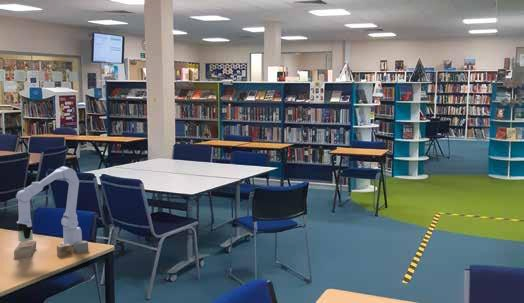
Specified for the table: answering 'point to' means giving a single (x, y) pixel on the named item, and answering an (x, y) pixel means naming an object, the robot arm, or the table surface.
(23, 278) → the table surface
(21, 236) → the green block
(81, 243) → the grey block
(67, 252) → the walnut block
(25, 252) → the brick
